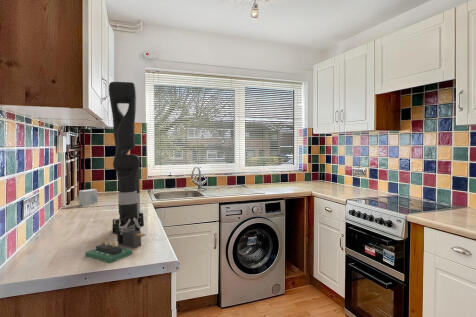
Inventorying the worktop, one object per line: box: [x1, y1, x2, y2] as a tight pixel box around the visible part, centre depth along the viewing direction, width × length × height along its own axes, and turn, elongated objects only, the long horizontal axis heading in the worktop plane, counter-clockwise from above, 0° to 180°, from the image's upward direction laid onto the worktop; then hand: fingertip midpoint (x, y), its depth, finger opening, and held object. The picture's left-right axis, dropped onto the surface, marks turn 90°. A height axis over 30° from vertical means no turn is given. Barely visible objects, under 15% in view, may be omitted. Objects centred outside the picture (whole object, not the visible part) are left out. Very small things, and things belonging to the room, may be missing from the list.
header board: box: [84, 237, 133, 264], centre depth 112 cm, size 14×10×6 cm
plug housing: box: [117, 228, 146, 249], centre depth 123 cm, size 13×4×6 cm, turn 61°
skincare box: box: [78, 188, 99, 206], centre depth 209 cm, size 10×6×10 cm, turn 141°
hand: (129, 240), depth 123 cm, fingers open, 8 cm apart
